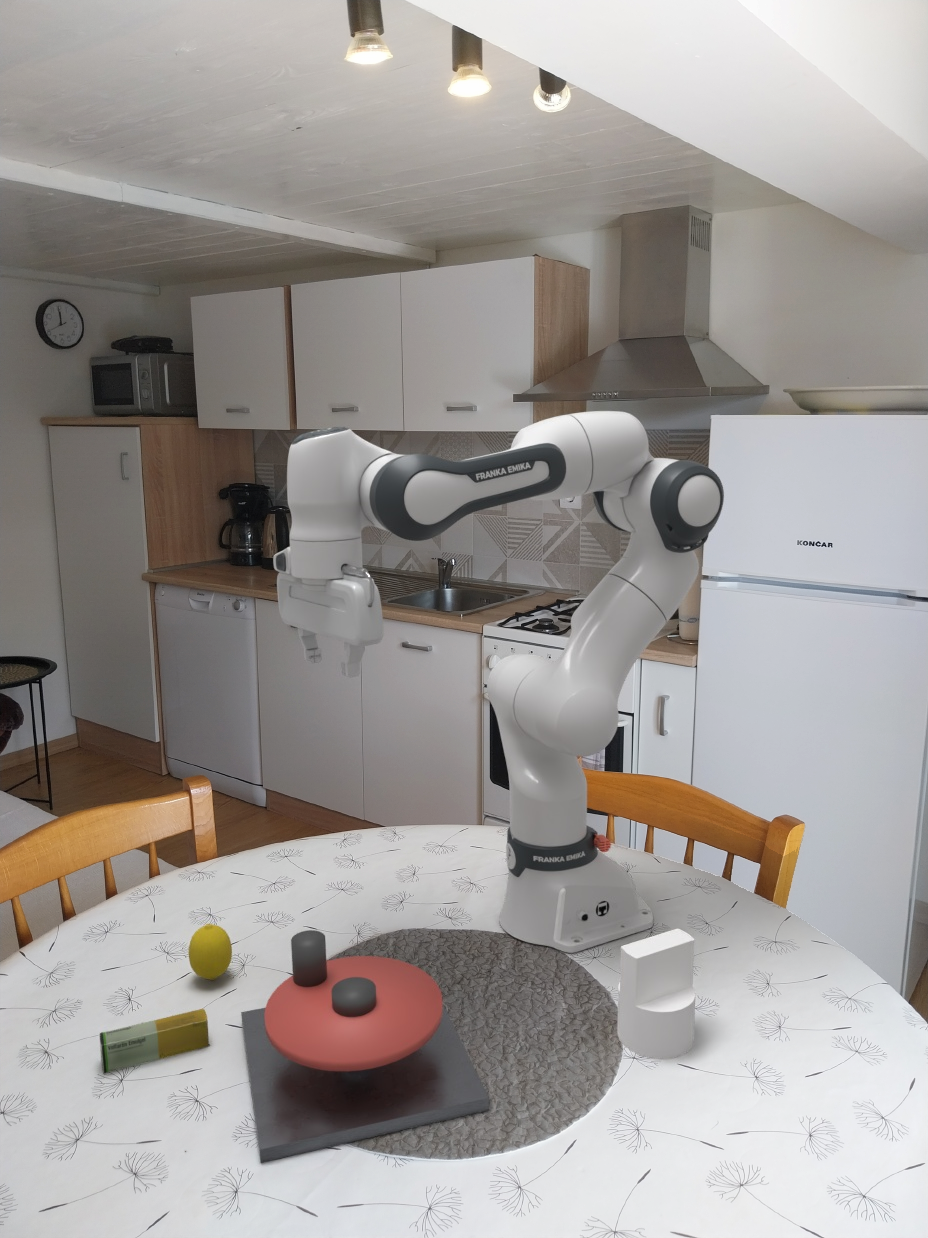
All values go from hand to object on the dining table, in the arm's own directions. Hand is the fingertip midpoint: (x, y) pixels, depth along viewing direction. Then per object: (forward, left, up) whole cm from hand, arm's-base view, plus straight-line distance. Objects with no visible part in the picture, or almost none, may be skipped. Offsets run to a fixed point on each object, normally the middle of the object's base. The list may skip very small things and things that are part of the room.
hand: (331, 668), depth 121 cm
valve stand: (+2, +20, -42) cm, 46 cm away
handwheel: (+2, +20, -35) cm, 41 cm away
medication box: (+24, +11, -42) cm, 50 cm away
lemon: (+17, -3, -42) cm, 45 cm away
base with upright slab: (-33, +26, -42) cm, 59 cm away
